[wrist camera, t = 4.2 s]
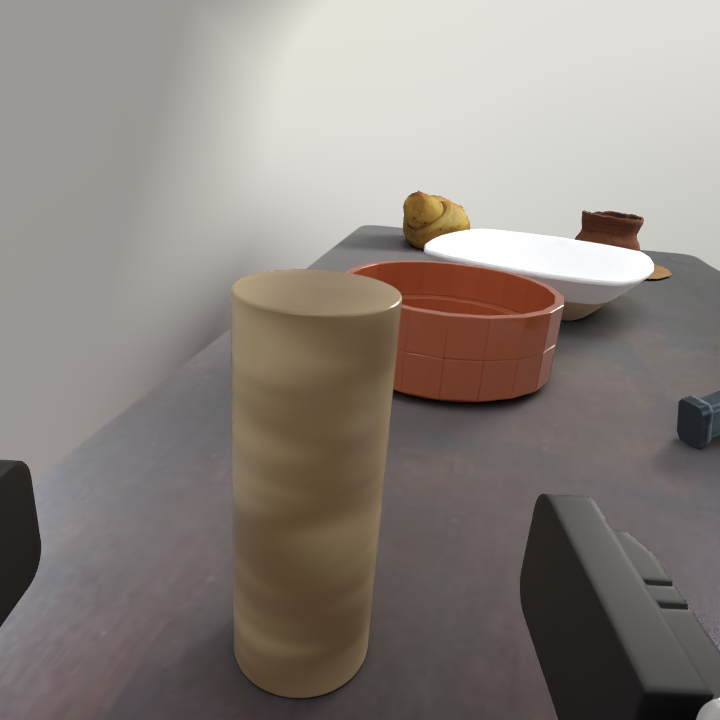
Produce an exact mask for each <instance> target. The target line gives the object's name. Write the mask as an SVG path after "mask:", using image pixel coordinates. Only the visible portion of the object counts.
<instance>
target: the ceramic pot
mask: <svg viewBox="0 0 720 720" xmlns="http://www.w3.org/2000/svg"><path fill="white" fill-rule="evenodd" d="M643 221H644V219H643V218H642V217H639V216H636V215H633V214H622V213H619V212H613V211H605V212H595V213H591V212H587V211H583V212H582V230H581V232H580V233H579V234H578V235H577V236H576V238H575V240H579V241H586V242H592V243H598V244H604V245H610V246H615V247H620V248H625V249H630V250H635V251H639V252H640V247H639V243H638V241H637V233H638V232H639V230H640V228H641V226H642V224H643ZM670 275H672V274H671V272H670V271H669V270H667V269H666V268H663V267H661V266H658V265H654V272H653V273H652V274H651V275H650V276H649V277H648V278H647V279H652V278H653V279H659V278H664V277H667V276H670Z"/></svg>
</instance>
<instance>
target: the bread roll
mask: <svg viewBox="0 0 720 720" xmlns="http://www.w3.org/2000/svg"><path fill="white" fill-rule="evenodd" d="M403 207H404V223H403V232H404V236H405V238H406V240H407V242H409V243H410V244H411V245H413V246H415V247H417V248H420V249H424V246H425V244H426V243H428V242H429V241H431V240H432V239H434V238H437V237H439V236H441V235H445V234H449V233H453V232H458V231H464V230H470V223H469V219H468V217H467V214H466V212H465V210H464V209H463V207H462V206H459V205H457V204H454V203H452V202H451V201H450V200H447V199H445V198H443V197H441V196H435V195H433V196H432V195H431V196H430V195H427V194H424V193H422V192H420V191H418V192H415V193H413V194H411V195H409V196H408V198H407V199H406V200H405V202H404V206H403Z"/></svg>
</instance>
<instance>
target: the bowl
mask: <svg viewBox="0 0 720 720" xmlns="http://www.w3.org/2000/svg"><path fill="white" fill-rule="evenodd" d="M424 252H425V254H426V255H427V256H428V257H429V258H430V259H431V260H432V261H440V262H452V263H453V262H454V263H461V264H469V265H476V266H483V267H488V268H493V269H498V270H503V271H507V272H511V273H515V274H518V275H522V276H525V277H528V278H532V279H535V280H537V281H539V282H542V283H544V284H546V285H548V286H551V287H553V288H554V289H556V290H557V291H558V292H559V293H560V294H561V295H563V296H564V308H563V313H562V317H561V320H566V321H572V320H577V319H581V318H583V317H585V316H587V315H589V314H591V313H593V312H594V311H596V310H597V309H599V308H601V307H602V306H604V305H605V304H607V303H608V302H610V301H611V300H613V299H615V298H617V297H618V296H620V295H622V294H623V293H625V292H626V291H628V290H629V289H631V288H633V287H634V286H636V285H637V284H639V283H640V282H642V281H643V280H645V279H647V278H648V277H649V276H650V275H651V274H652V273H653V272H654V264H653V262H652V260H651V259H650V257H648V256H647V255H645V254H643V253H642V252H639V251H635V250H630V249H625V248H620V247H615V246H610V245H604V244H598V243H592V242H586V241H579V240H573V239H567V238H559V237H552V236H545V235H538V234H530V233H522V232H513V231H504V230H492V229H472V230H464V231H458V232H453V233H449V234H445V235H441V236H439V237H437V238H434V239H432V240H431V241H429V242H428V243H426V244H425V246H424Z"/></svg>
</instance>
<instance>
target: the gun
mask: <svg viewBox="0 0 720 720" xmlns="http://www.w3.org/2000/svg"><path fill="white" fill-rule="evenodd" d="M677 433H678V435H679V438H680V439H682V440H683V441H685V442H687V443H688V444H690V445H691V446H693V447H695V448H696V449H698V448H700V447H703V446H705V445H707V444H709V443H710V442H711V439H713V438H715V437H718V436H720V391H718V392H715V393H712V394H710V395H707V396H704V397H702V398H697V397H696V396H694V395H691V396H688V397H685V398H682V399H681V400H680V401H679V406H678V424H677Z"/></svg>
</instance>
